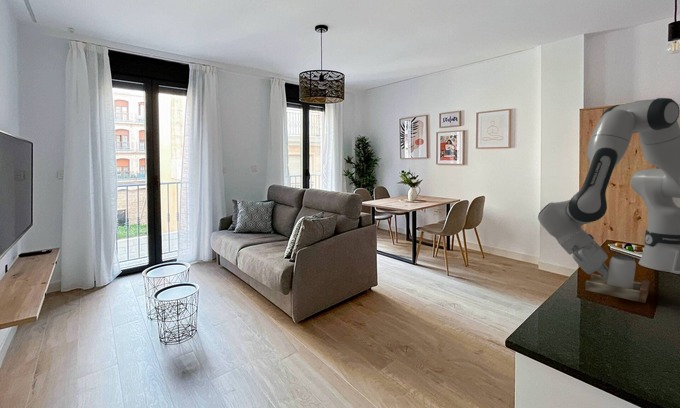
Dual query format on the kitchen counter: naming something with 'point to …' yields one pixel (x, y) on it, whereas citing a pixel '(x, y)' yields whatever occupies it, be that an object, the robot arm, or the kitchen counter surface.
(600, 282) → the wooden rack
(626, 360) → the kitchen counter surface
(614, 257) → the can
